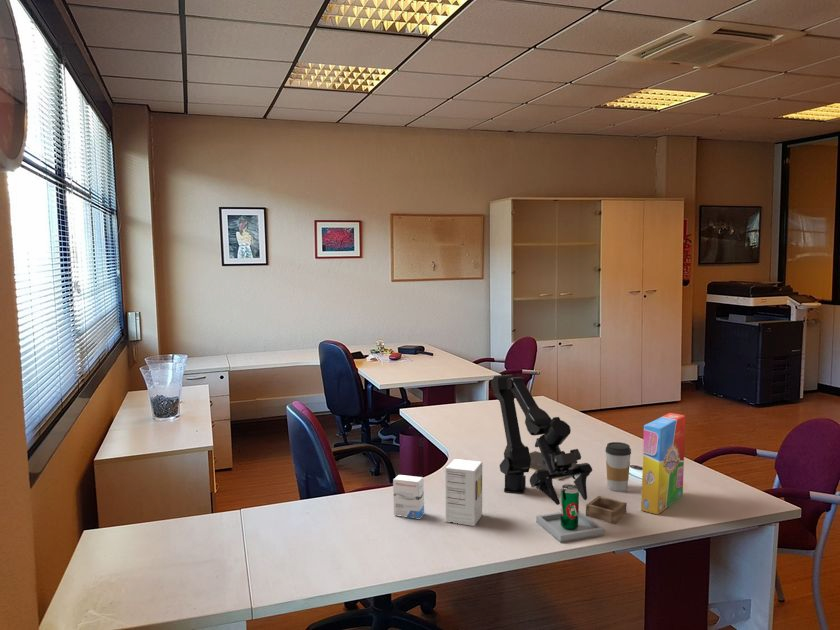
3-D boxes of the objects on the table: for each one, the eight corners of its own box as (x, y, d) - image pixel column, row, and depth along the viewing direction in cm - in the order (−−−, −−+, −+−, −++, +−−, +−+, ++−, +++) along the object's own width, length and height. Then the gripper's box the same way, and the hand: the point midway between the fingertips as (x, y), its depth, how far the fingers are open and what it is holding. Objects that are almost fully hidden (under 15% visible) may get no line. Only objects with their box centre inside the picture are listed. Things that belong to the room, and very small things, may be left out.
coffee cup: (631, 493, 209) (632, 449, 207) (605, 492, 211) (606, 448, 209) (628, 484, 217) (629, 442, 216) (603, 483, 219) (604, 441, 217)
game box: (657, 515, 192) (660, 428, 189) (640, 510, 195) (642, 425, 193) (683, 495, 207) (686, 414, 204) (666, 491, 211) (669, 411, 208)
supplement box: (474, 526, 185) (474, 471, 184) (444, 522, 189) (444, 467, 187) (483, 514, 194) (483, 460, 193) (454, 510, 198) (454, 457, 196)
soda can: (563, 521, 187) (563, 482, 186) (580, 525, 185) (580, 485, 183) (558, 528, 183) (558, 488, 181) (575, 531, 180) (576, 491, 179)
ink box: (424, 513, 195) (424, 476, 194) (419, 520, 191) (419, 482, 189) (399, 510, 198) (398, 473, 197) (393, 516, 193) (392, 479, 192)
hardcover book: (557, 482, 222) (557, 476, 222) (508, 465, 240) (508, 459, 239) (585, 471, 232) (585, 465, 232) (536, 456, 250) (536, 450, 249)
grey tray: (560, 542, 175) (560, 535, 175) (536, 522, 188) (536, 515, 188) (604, 535, 179) (604, 528, 179) (577, 515, 192) (577, 509, 192)
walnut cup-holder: (585, 515, 192) (586, 504, 192) (598, 506, 199) (598, 495, 199) (614, 523, 186) (614, 512, 186) (626, 513, 193) (626, 502, 193)
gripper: (534, 443, 181) (555, 494, 172) (589, 436, 188) (612, 485, 179) (520, 462, 189) (540, 511, 180) (573, 454, 196) (594, 501, 187)
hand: (572, 502), depth 181 cm, fingers open, 9 cm apart
